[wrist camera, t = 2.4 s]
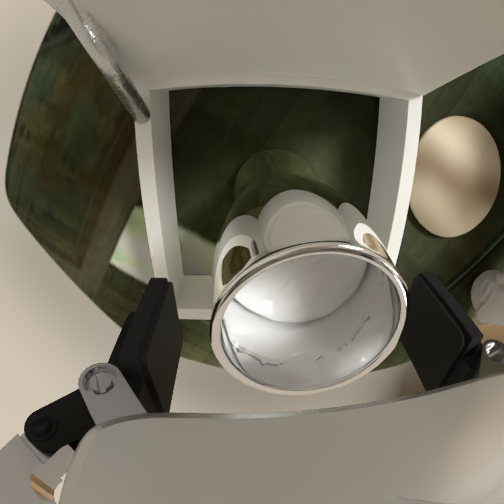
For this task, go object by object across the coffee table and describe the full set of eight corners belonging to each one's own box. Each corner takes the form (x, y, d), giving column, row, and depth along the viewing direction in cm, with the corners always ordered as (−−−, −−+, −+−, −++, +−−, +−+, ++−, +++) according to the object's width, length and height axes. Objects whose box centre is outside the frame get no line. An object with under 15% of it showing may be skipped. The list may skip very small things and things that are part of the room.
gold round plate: (413, 103, 19) (417, 104, 18) (504, 129, 19) (507, 131, 18) (395, 233, 24) (398, 236, 24) (482, 235, 24) (485, 238, 24)
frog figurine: (497, 290, 28) (527, 326, 22) (455, 309, 29) (484, 351, 23) (504, 248, 25) (541, 283, 19) (460, 267, 26) (497, 308, 20)
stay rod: (135, 21, 13) (45, -22, 5) (152, 18, 13) (70, -33, 5) (137, 124, 16) (45, 160, 8) (153, 122, 16) (69, 156, 8)
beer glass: (283, 122, 20) (354, 182, 7) (339, 195, 23) (438, 333, 9) (208, 183, 22) (155, 327, 9) (268, 247, 25) (288, 416, 12)
